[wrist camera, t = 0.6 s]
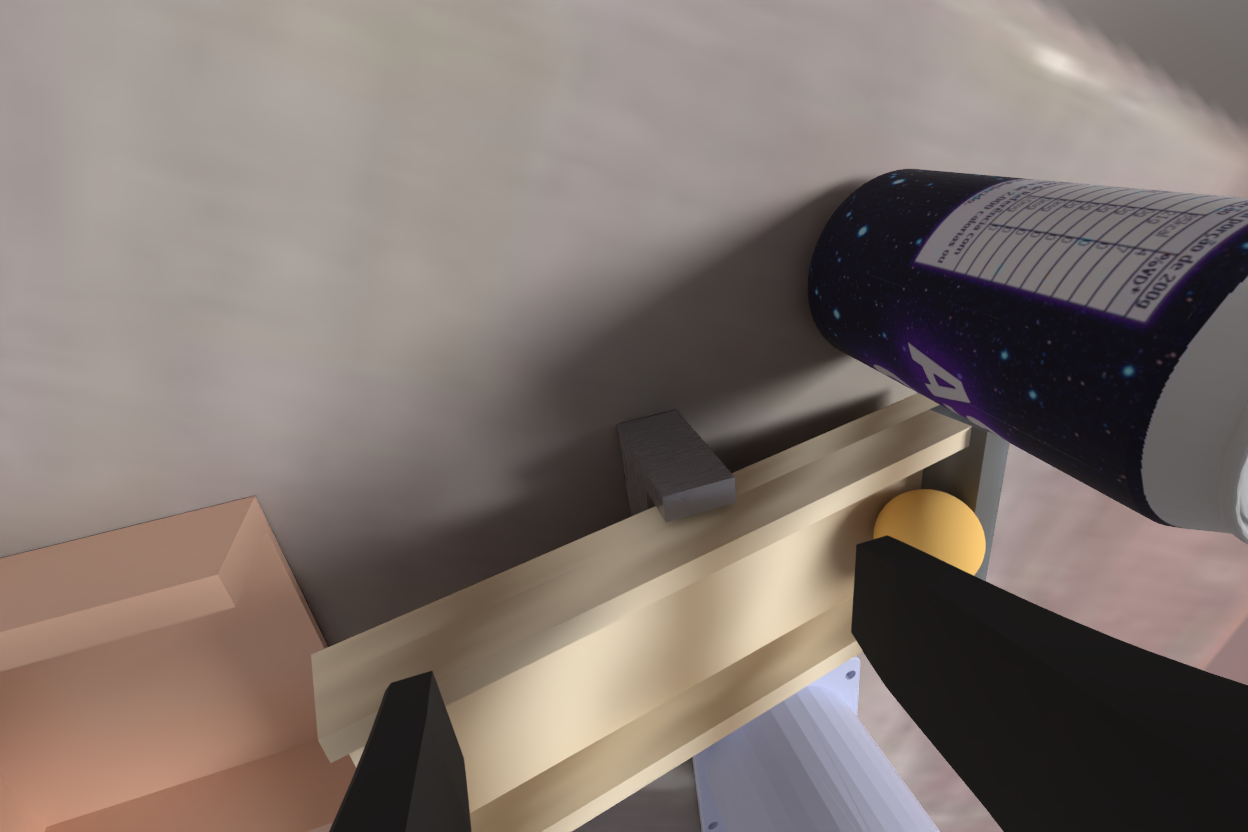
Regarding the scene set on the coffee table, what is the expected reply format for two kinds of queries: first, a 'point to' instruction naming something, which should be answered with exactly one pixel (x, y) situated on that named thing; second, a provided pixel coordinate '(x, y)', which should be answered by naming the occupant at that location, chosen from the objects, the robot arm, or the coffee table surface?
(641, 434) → the fulcrum
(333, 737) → the lever
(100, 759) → the tray
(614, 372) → the coffee table surface
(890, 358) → the beverage can
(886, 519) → the ball
